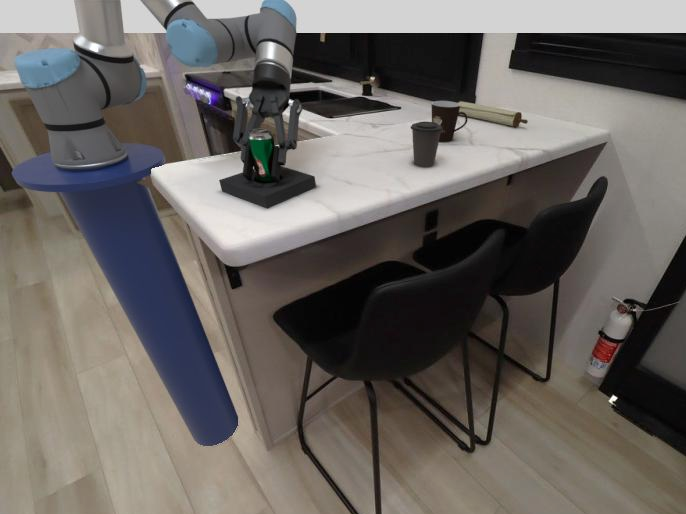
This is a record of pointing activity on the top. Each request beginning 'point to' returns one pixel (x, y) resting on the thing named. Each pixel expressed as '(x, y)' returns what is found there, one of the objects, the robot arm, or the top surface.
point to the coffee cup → (425, 143)
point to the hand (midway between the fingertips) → (261, 178)
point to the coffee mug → (446, 118)
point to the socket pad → (268, 187)
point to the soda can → (262, 154)
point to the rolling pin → (491, 114)
